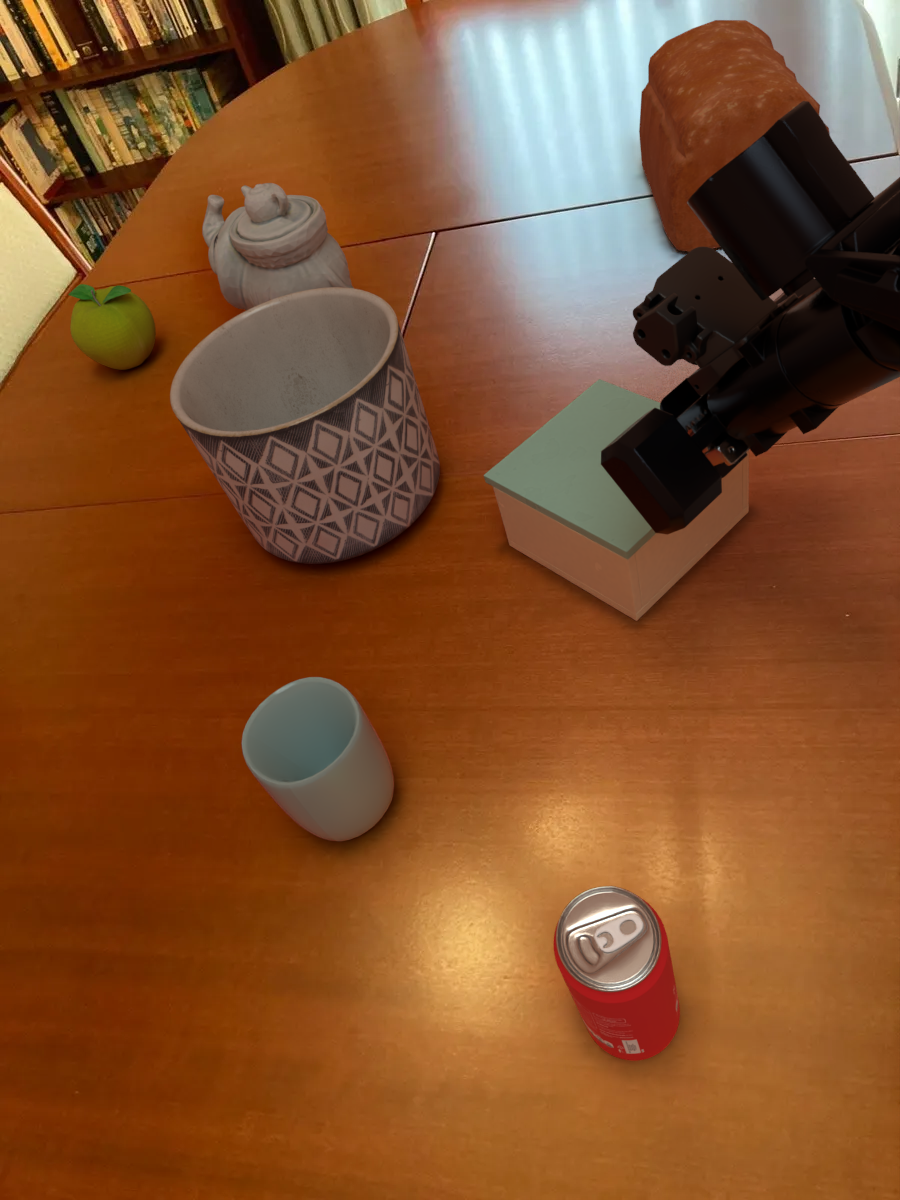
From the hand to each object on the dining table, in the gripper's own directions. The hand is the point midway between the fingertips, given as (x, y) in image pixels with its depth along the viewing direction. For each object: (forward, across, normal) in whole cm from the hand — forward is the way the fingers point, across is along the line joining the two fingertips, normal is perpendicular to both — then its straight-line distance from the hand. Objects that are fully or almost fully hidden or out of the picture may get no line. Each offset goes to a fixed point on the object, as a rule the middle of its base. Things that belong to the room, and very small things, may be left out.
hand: (666, 443), depth 60 cm
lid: (+7, 0, -1) cm, 7 cm away
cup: (+11, +31, +6) cm, 33 cm away
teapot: (+48, -3, -32) cm, 58 cm away
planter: (+28, +12, -12) cm, 33 cm away
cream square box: (+12, 0, +4) cm, 12 cm away
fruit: (+61, +12, -45) cm, 76 cm away
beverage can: (-5, +28, +22) cm, 36 cm away
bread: (+29, -48, -13) cm, 57 cm away
